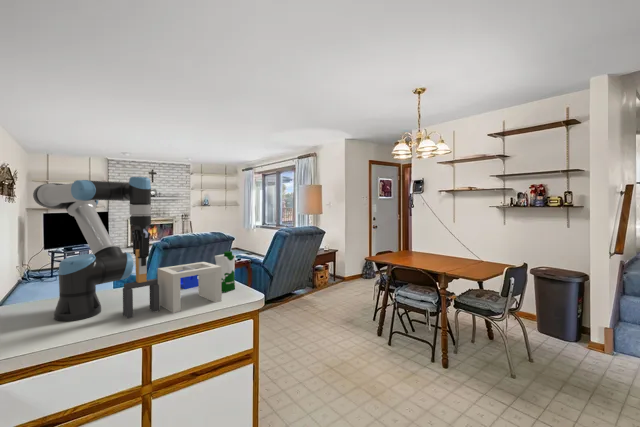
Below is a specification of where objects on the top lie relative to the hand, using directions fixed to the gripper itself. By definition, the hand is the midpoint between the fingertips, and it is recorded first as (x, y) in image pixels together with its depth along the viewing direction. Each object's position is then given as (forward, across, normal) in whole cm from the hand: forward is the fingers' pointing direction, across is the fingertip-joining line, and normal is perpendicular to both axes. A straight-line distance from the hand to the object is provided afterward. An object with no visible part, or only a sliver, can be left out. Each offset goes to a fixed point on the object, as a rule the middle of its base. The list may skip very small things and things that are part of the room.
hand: (141, 272), depth 131 cm
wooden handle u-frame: (+17, 0, 0) cm, 17 cm away
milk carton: (+17, +6, -42) cm, 46 cm away
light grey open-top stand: (+17, -1, -20) cm, 26 cm away
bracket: (+17, +26, -37) cm, 48 cm away
